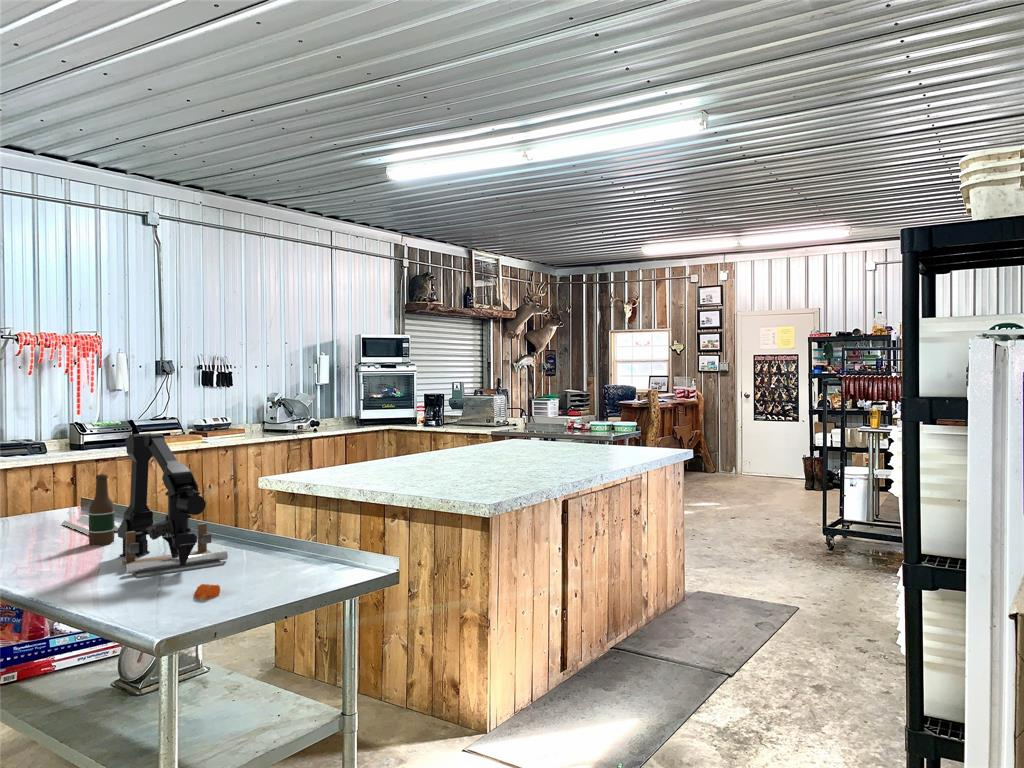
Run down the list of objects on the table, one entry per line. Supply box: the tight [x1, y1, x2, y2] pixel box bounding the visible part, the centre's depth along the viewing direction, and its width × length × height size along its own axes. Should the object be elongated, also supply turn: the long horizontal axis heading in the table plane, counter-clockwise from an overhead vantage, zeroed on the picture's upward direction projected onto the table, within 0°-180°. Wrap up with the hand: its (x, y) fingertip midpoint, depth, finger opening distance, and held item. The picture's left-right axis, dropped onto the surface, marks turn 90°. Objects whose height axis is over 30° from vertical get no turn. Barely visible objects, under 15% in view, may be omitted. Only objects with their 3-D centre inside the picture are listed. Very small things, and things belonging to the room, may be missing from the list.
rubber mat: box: [132, 560, 225, 579], centre depth 216 cm, size 9×24×1 cm, turn 128°
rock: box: [193, 583, 221, 600], centre depth 189 cm, size 12×12×4 cm
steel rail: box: [125, 550, 229, 575], centre depth 216 cm, size 28×3×3 cm, turn 128°
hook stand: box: [121, 522, 212, 569], centre depth 225 cm, size 9×25×10 cm, turn 128°
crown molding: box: [61, 514, 119, 536], centre depth 275 cm, size 31×12×4 cm, turn 48°
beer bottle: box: [88, 473, 115, 546], centre depth 249 cm, size 8×8×24 cm
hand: (178, 562), depth 216 cm, fingers open, 9 cm apart
